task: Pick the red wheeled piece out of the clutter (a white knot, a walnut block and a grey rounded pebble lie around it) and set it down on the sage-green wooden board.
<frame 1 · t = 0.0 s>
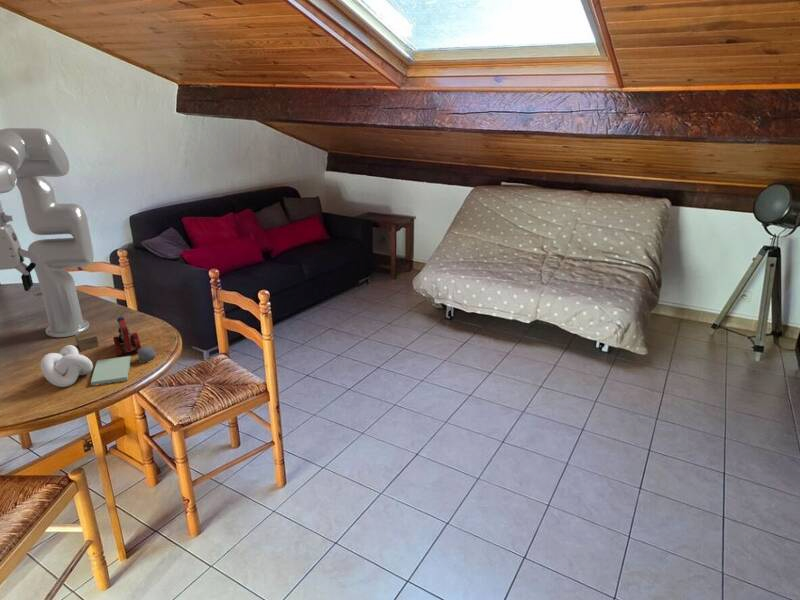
hand: (4, 291, 123), 31 cm above the table, tool pointing down, fingers open, 9 cm apart
board: (112, 372, 149), on the table
walnut block: (88, 346, 163), on the table
white knot: (69, 379, 146), on the table
red wheeled piece: (128, 349, 163), on the table
grey rounded pebble: (147, 359, 157), on the table
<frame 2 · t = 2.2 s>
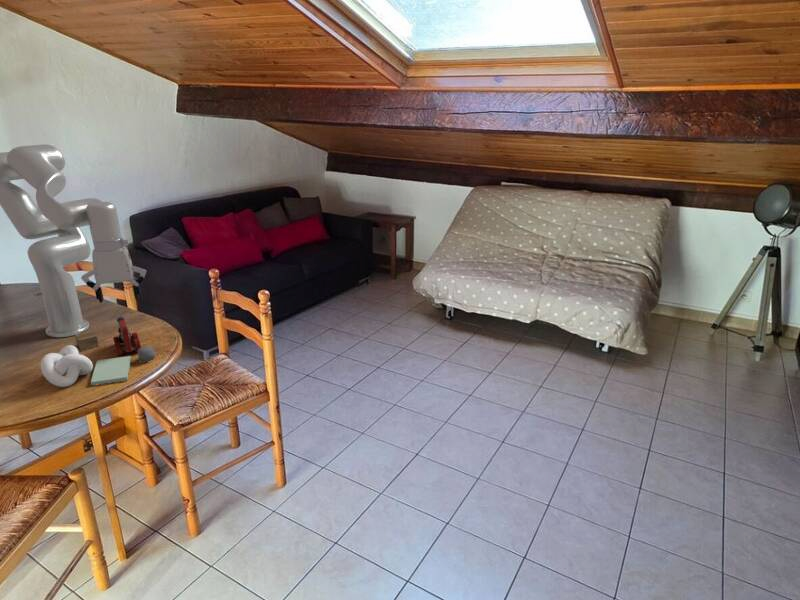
hand: (119, 299, 156), 17 cm above the table, tool pointing down, fingers open, 9 cm apart
nothing on the table moved.
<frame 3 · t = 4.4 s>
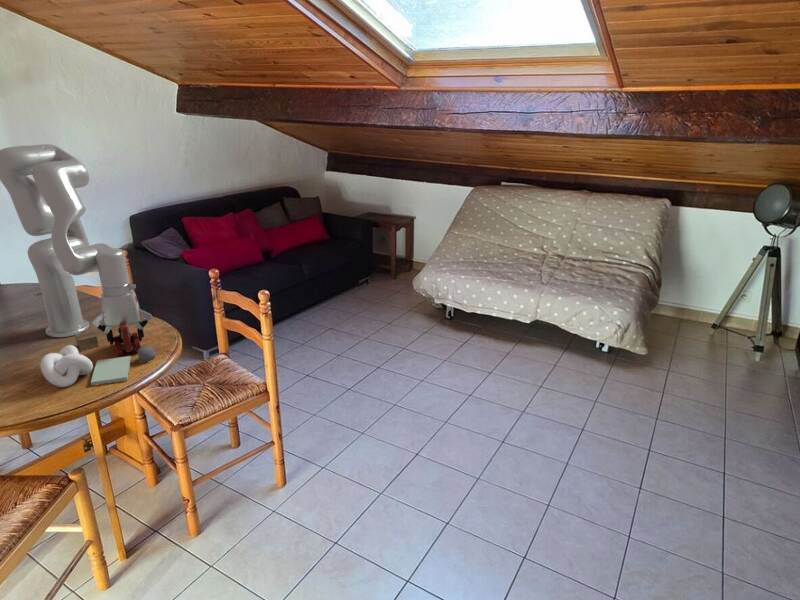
hand: (126, 340, 161), 3 cm above the table, tool pointing down, fingers closed on red wheeled piece, 7 cm apart
red wheeled piece: (128, 349, 162), on the table, touching gripper
everything else where it was.
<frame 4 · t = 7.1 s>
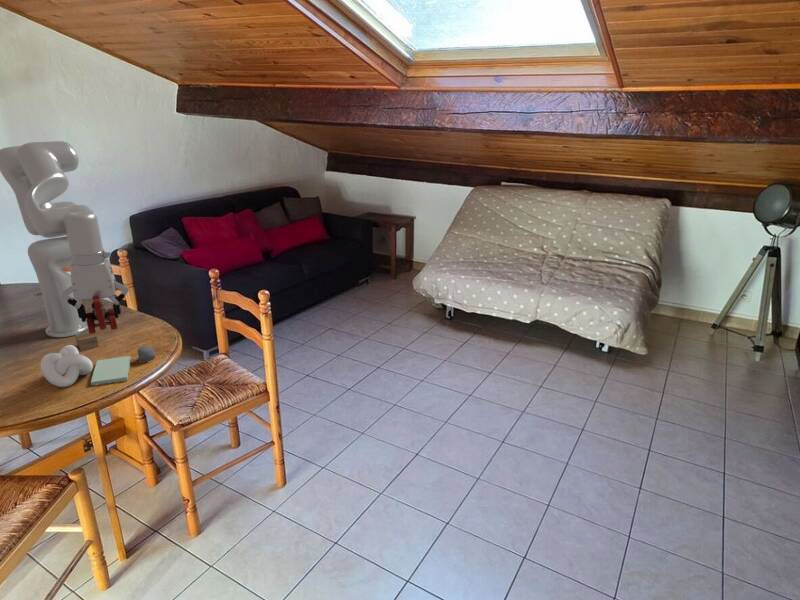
hand: (100, 317, 143), 17 cm above the table, tool pointing down, fingers closed on red wheeled piece, 7 cm apart
red wheeled piece: (103, 327, 144), point 14 cm above the table, touching gripper
everything else where it was.
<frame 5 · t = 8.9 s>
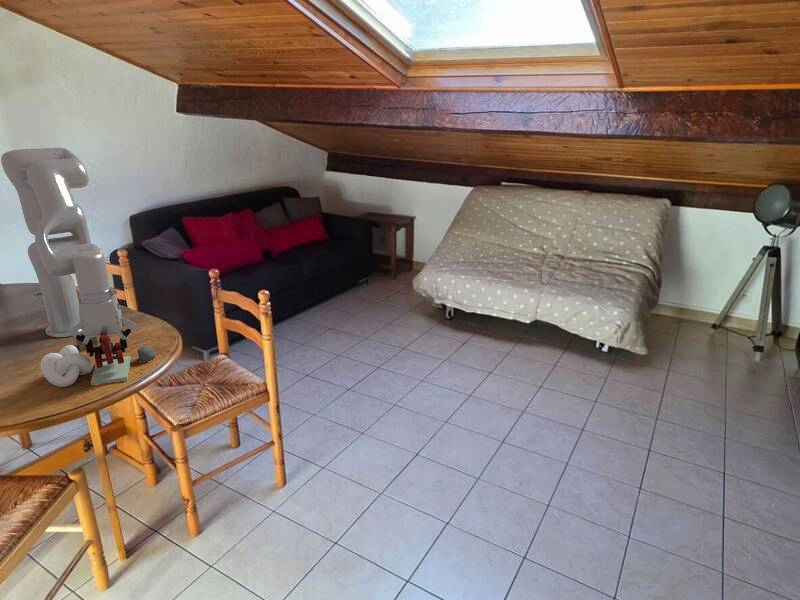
hand: (108, 352, 147), 7 cm above the table, tool pointing down, fingers closed on red wheeled piece, 7 cm apart
red wheeled piece: (110, 361, 148), point 4 cm above the table, touching gripper
everything else where it was.
when the fingers open (5 cm above the table, at t = 10.2 s): red wheeled piece stays where it is, point 2 cm above the table.
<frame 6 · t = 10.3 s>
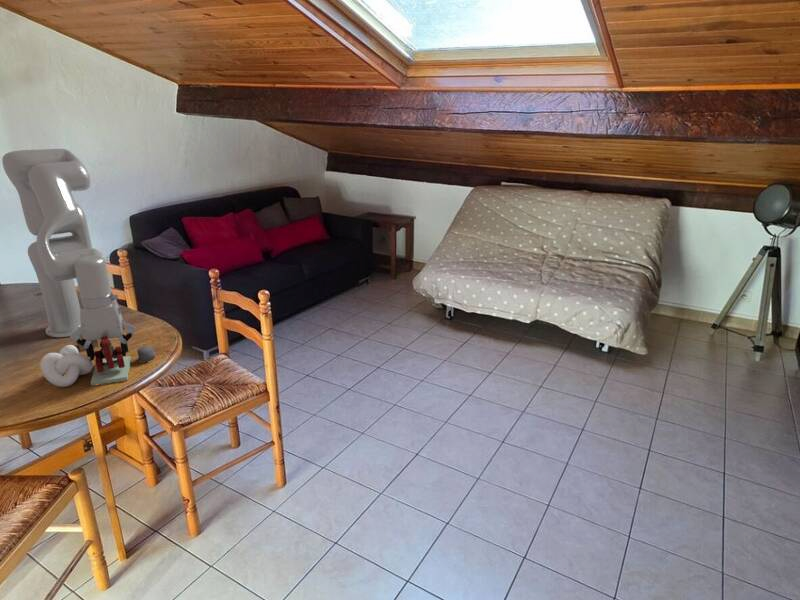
hand: (108, 356, 148), 5 cm above the table, tool pointing down, fingers open, 7 cm apart
white knot: (69, 378, 146), on the table, touching gripper
red wheeled piece: (110, 365, 149), point 2 cm above the table
everything else where it was.
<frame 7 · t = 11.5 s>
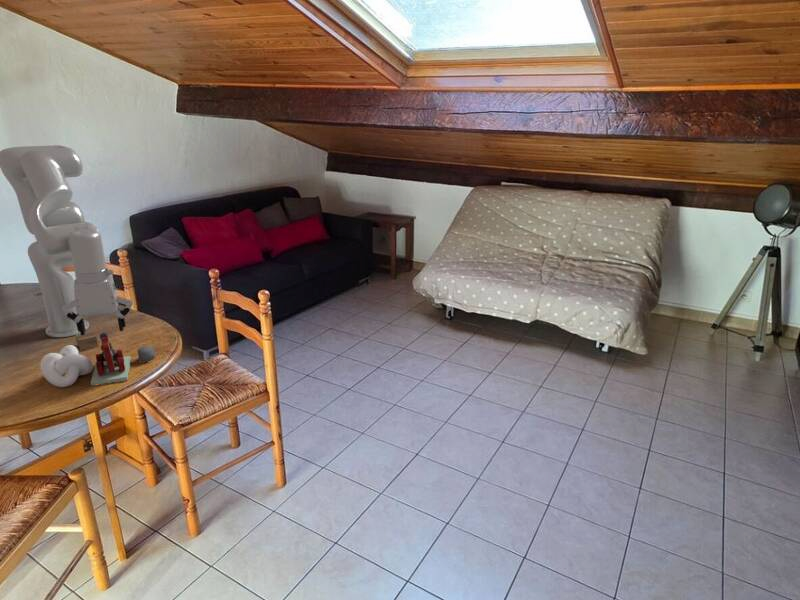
hand: (102, 331, 145), 13 cm above the table, tool pointing down, fingers open, 9 cm apart
white knot: (69, 379, 146), on the table
red wheeled piece: (111, 368, 149), point 1 cm above the table, touching board
everything else where it was.
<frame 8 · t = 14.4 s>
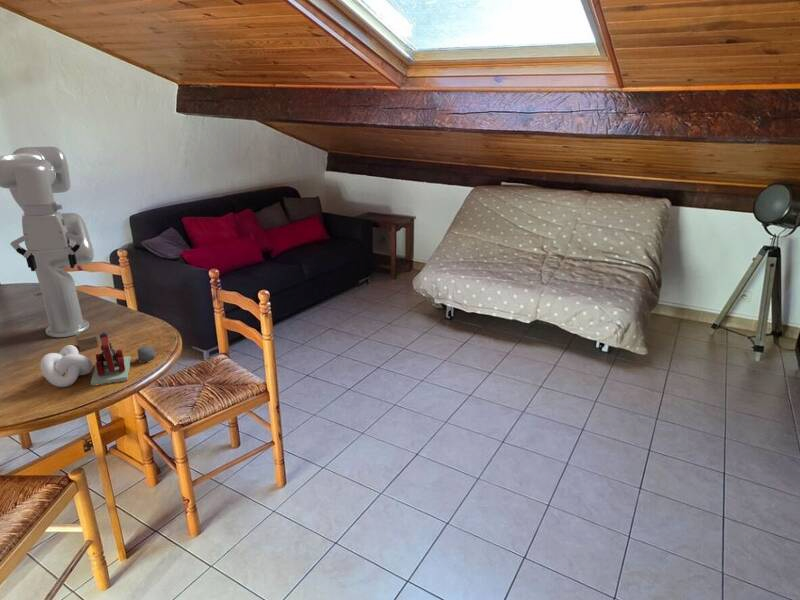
hand: (53, 268, 147), 28 cm above the table, tool pointing down, fingers open, 9 cm apart
nothing on the table moved.
at the end: red wheeled piece inside the target area on the board (0.2 cm from its centre), point 1.0 cm above the board's base; red wheeled piece tilted 0°; the gripper is holding nothing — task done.
